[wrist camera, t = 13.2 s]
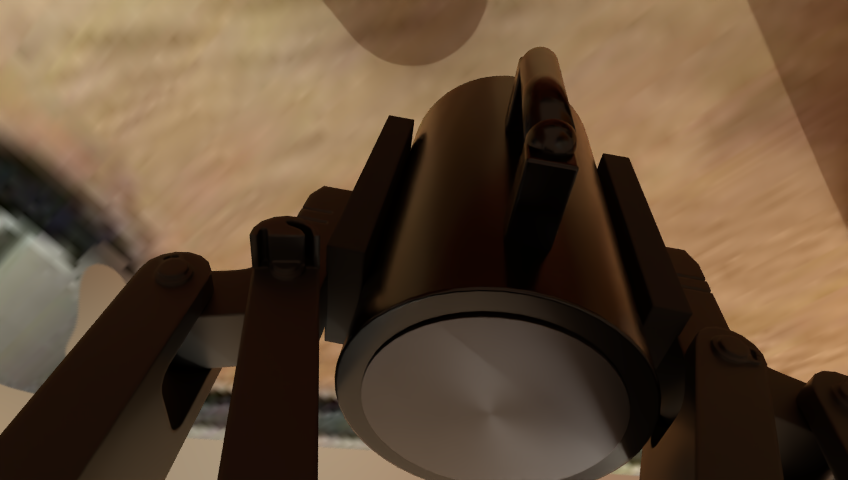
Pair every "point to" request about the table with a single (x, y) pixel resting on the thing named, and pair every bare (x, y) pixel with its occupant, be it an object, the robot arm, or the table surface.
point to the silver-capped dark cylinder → (500, 300)
